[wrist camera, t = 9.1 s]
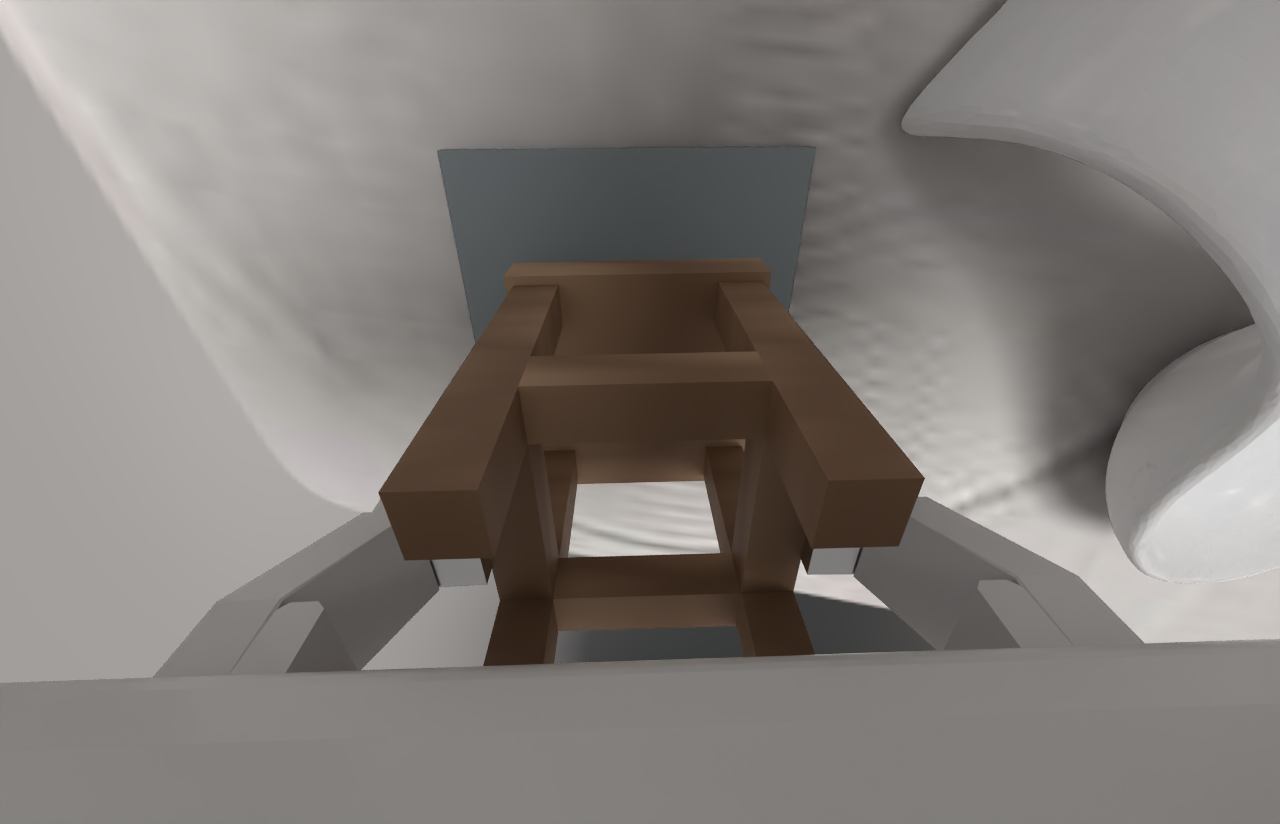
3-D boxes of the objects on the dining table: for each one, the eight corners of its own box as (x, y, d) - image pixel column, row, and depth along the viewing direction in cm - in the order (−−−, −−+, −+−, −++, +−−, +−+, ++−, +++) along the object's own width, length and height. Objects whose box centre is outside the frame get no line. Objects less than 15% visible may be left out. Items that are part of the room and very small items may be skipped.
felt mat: (441, 149, 13) (437, 150, 13) (810, 146, 13) (815, 147, 13) (500, 449, 18) (498, 456, 18) (763, 444, 18) (766, 450, 18)
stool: (542, 459, 15) (470, 763, 8) (514, 262, 12) (352, 477, 5) (736, 454, 15) (833, 750, 8) (759, 258, 12) (950, 461, 5)
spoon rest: (1432, 383, 18) (1836, 517, 12) (1119, 556, 23) (1298, 716, 17) (1196, -227, 10) (2076, -748, 4) (781, 234, 15) (893, 320, 9)
